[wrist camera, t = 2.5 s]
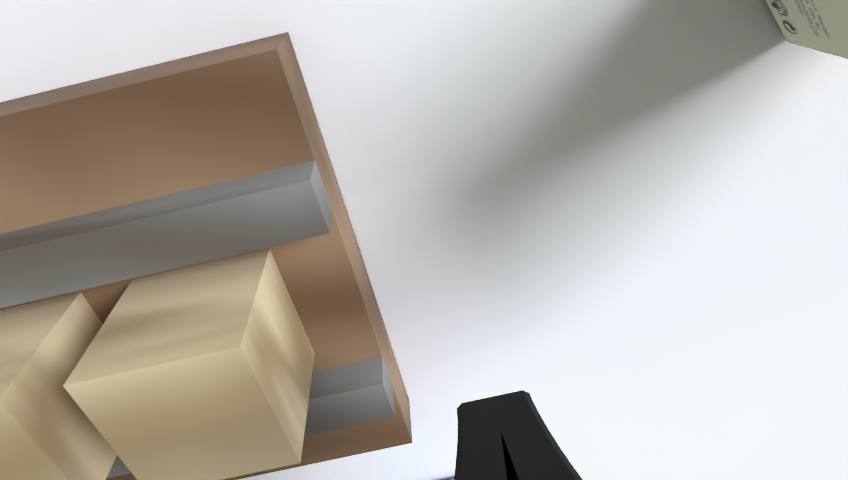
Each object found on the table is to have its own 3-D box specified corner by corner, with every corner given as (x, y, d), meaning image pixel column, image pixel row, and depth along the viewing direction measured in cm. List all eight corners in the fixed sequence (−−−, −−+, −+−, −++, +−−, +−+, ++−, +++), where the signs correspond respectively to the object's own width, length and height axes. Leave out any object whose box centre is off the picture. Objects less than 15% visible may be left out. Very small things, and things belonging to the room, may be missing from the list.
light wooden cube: (314, 353, 17) (300, 462, 14) (192, 380, 17) (148, 494, 14) (269, 248, 15) (240, 346, 12) (131, 280, 15) (63, 385, 12)
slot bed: (408, 400, 22) (414, 471, 19) (68, 472, 22) (25, 552, 19) (287, 32, 14) (268, 61, 12) (-214, 154, 15) (-346, 209, 12)
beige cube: (147, 390, 18) (92, 506, 14) (28, 416, 18) (-55, 537, 14) (80, 292, 15) (-3, 400, 12) (-54, 322, 16) (-173, 437, 12)
